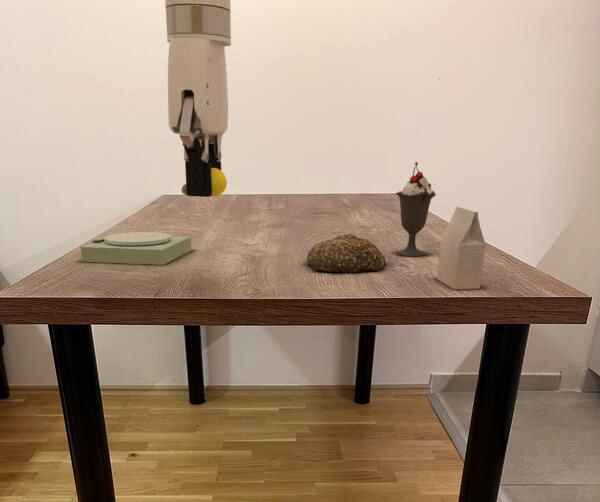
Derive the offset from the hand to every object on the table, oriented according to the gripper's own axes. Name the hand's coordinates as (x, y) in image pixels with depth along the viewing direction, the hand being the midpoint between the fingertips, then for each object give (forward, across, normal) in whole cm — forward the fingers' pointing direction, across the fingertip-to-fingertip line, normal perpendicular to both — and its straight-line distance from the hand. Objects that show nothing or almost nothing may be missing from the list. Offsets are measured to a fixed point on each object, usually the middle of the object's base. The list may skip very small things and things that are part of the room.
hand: (204, 193), depth 83 cm
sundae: (+11, -32, +27) cm, 43 cm away
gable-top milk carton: (+12, -9, +34) cm, 37 cm away
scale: (+12, -21, -19) cm, 31 cm away
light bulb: (+1, 0, 0) cm, 1 cm away
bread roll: (+12, -19, +17) cm, 28 cm away
